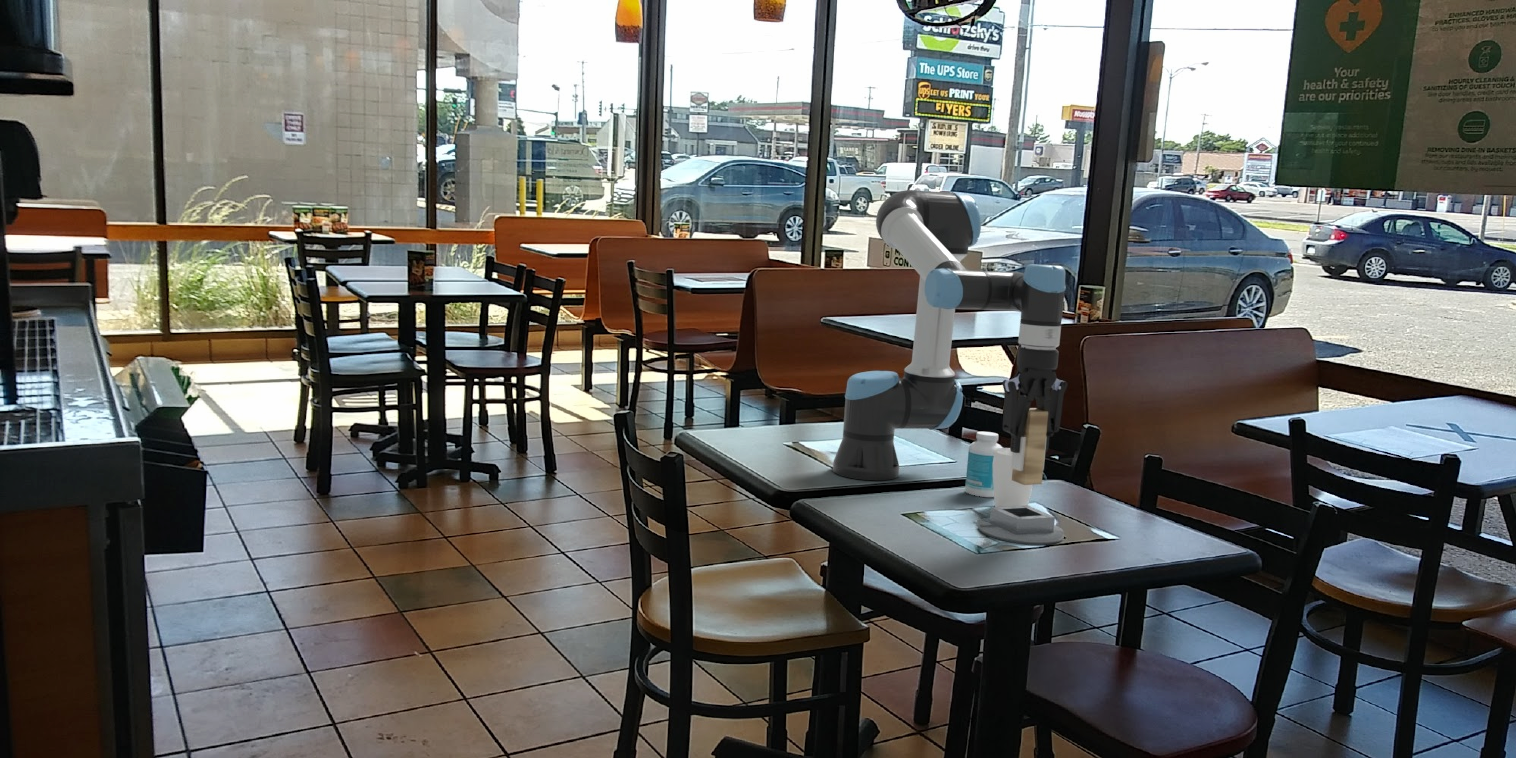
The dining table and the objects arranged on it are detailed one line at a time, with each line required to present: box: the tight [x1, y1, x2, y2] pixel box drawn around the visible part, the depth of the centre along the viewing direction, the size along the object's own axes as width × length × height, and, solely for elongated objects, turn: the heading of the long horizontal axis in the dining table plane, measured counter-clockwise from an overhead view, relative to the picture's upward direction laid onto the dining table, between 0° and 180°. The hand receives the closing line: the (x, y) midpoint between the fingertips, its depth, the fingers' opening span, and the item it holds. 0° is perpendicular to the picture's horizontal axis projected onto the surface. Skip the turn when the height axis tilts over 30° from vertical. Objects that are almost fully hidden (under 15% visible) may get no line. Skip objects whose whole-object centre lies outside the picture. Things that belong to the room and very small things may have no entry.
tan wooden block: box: [1012, 407, 1048, 486], centre depth 217 cm, size 4×4×14 cm
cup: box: [993, 447, 1034, 507], centre depth 237 cm, size 9×9×12 cm
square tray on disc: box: [978, 504, 1065, 546], centre depth 219 cm, size 16×16×4 cm
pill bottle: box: [964, 431, 1003, 498], centre depth 248 cm, size 8×7×14 cm
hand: (1027, 468), depth 217 cm, fingers closed on tan wooden block, 4 cm apart
